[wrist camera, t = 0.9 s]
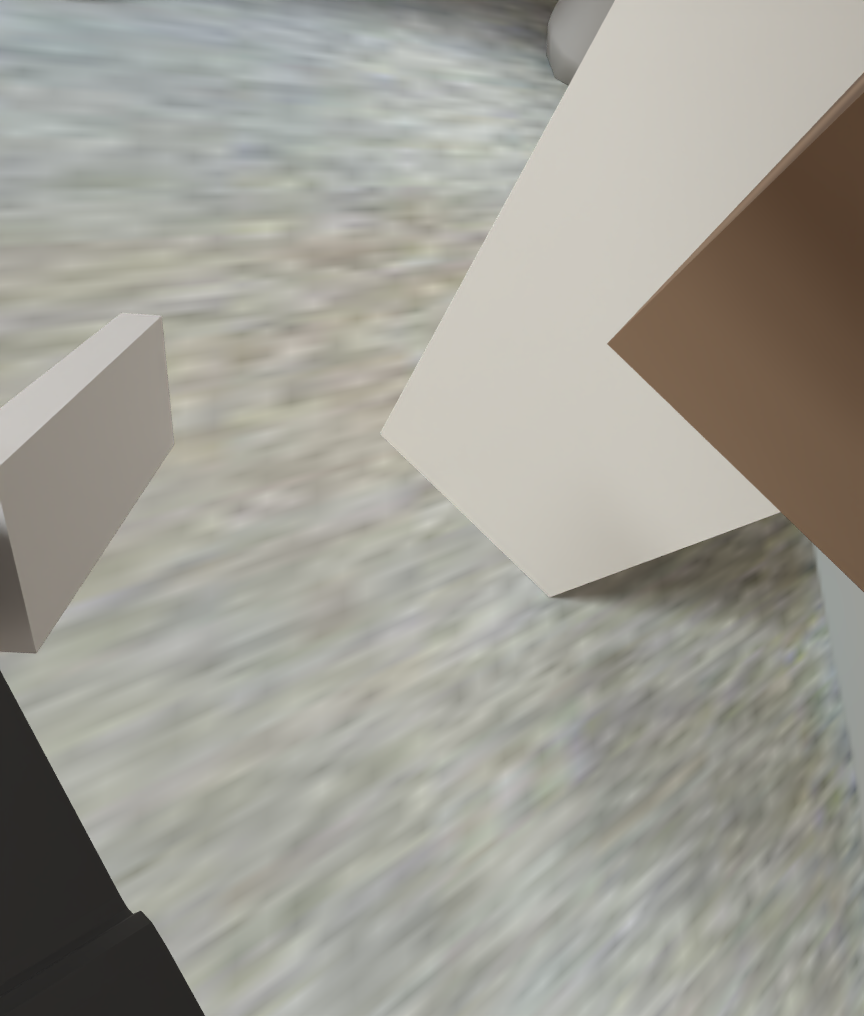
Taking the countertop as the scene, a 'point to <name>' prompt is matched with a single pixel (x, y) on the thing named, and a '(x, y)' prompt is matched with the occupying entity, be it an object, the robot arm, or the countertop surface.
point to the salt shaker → (573, 34)
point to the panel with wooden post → (778, 336)
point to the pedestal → (614, 286)
